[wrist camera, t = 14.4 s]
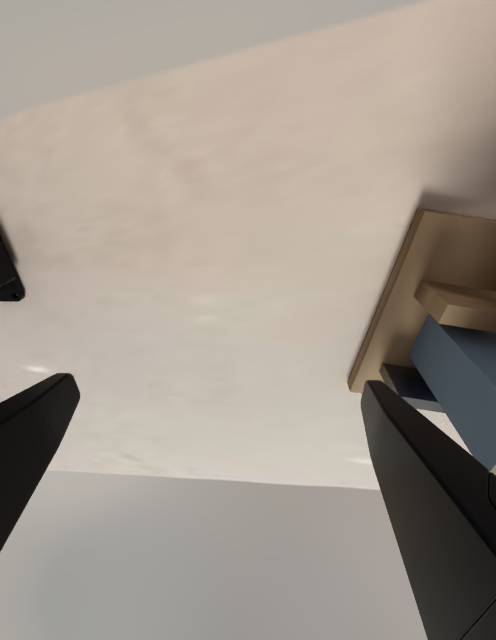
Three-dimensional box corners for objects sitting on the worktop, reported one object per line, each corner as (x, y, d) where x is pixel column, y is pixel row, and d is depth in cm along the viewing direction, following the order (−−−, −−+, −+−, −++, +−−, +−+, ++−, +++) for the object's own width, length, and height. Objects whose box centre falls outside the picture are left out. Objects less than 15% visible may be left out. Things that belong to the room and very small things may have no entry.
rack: (347, 383, 26) (375, 472, 19) (418, 208, 19) (504, 247, 12) (477, 403, 26) (552, 499, 19) (596, 237, 19) (787, 293, 12)
